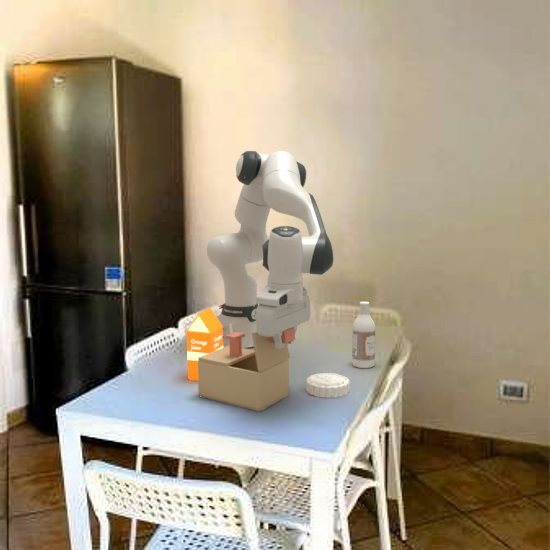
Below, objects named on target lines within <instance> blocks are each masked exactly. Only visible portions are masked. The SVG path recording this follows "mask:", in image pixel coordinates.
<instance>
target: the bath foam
mask: <svg viewBox="0 0 550 550" xmlns="http://www.w3.org/2000/svg"><path fill="white" fill-rule="evenodd" d="M351 341H352V346H351V347H352V348H351V349H352V351H351V353H352V354H351V356H352V359H351V364H352V366H353V367H355V368H359V369H370V368H372V367H374V366H375V362H376V324H375V322H374V320H373V318H372V317H371V315H370V302H369V301H359V314H358V315H357V317H356V318H355V320H354V322H353V325H352V340H351Z"/></svg>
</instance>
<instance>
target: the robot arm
mask: <svg viewBox="0 0 550 550" xmlns="http://www.w3.org/2000/svg"><path fill="white" fill-rule="evenodd" d="M235 166H236V167H235V173H236V174H235V175H236V178H237V180H238V182H239V183H241V184H243V185H242V188H241V190H240V194H239V197H238V199H237V200H238V201H237V203H236V207H235V209H234V218H235V219H236V221H237V222H238V223H239V224H240V227H239V230H238V232H235V233H234V232H233V233H225V234H221V235H218V236H214V237H213V238H212V239H210V240H209V241H208V243H207V247H206V255H207V258H208V260H209V261H210V263H211V264H212V265H214V266H215V267H216V268H217V269H218V271H219V272H220V274H221V276H222V281H223V285H224V303H223V304H222V305H218V307H219V308H218V309H219V310H221V312H220V314H219V315H218V316H217V315H216V317H217V319H218V320H219V322H220V323H221V325H222V326H223V348H224V347H227V346H229V345H230V339H226V336H227V335H229V334H232V333H235V332H238V333H244V334H245V337H242V348H246V349H249V348H252V347H254V343H253V338H252V333H253V332H256V331H257V333H258V334H259V335H260V336H265V337H271V336H273V339H274V341H275V347H276V348H278V349H280V348H283V347H284V343H283V341H282V339H281V336H282V332H283V331H285V330H287V329H290V328H294V334H295V335H296V332H297V330H298V326H299V325H302V324H304V323H306V322H308V321H309V320H310V319H311V301H310V296H309V295H308V290H307V288H305V286H304V279H303V276H302V275H303V274H311V275H318V276H319V275H320V276H322V275H324V274H325V273H326V272H328V271H329V270H330V269H331V268H332V267H333V266H334V261H335V260H334V258H335V253H334V248H333V245H332V243H331V239H330V238H329V236H328V234H327V232H326V228H325V225H324V222H323V219H322V215H321V212H320V210H319V207H318V204H317V201H316V198H315V197H314V196H313V194H311V193H310V192H308V191H306V189H304V186H305V185H306V181H307V170H306V167H305V165H303V164H302V163H300V162H298V161H296V158H295V157H294V155H293V154H291V153H290V152H288V151H286V150H277V151H274V152H271V154H270V153H263V152H257V151H256V150H246V151H244V152H243V153H241V154H240V157H239V158H238V159H237V162H236V165H235ZM271 209H272V210H273V211H275V212H277V213H279V214H282V215H287V216H291V217H294V218H297V219H300V220H301V221H303V222H304V224H305V225H306V229H307V232H308V234H309V236H302V233H301V229H299V228H297V227H295V226H289V225H287V226H286V225H281V226H276V227H273V228H272V229H271V230H270V232H269V235H268V234H267V229H266V228H267V222H268V218H269V214H270V211H271ZM260 261H262V264H261V265H262V266H263V267H264V269H266V270H267V271H268V276H267V285H265V286H264V288H263V289H262V290H261V291H259V292H258V291H257V289H258V288H257V287H258V286H257V282H256V280H255V278H253V277H252V276H250V275H249V274H248V272H247V268H246V265H247V264H252V263H253V264H254V263H258V262H260ZM257 292H258V293H257ZM294 342H295V339H294V340H292V341H290V342H288V343H287V344H288V345H291V344H293V343H294Z"/></svg>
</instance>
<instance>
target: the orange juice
mask: <svg viewBox="0 0 550 550" xmlns="http://www.w3.org/2000/svg"><path fill="white" fill-rule="evenodd" d="M221 348H223V326H222V325H221V323H220V322H219V320H218V319H217V315H216V314H215V312H214V311H213V310H212V307H208V308H207V309H204V310H203V311H201V312H199V313H197V314H196V316H195V318H194V320H193V321H192V322H191V324H190V325H189V327H188V328H187V330H186V350H187V351H186V352H187V354H186V357H187V377H188V378H187V379H189V380H190V381H197V382H198V358H199V357H201V356H204V355H206V354H209V353H211V352H214V351H216V350H219V349H221Z"/></svg>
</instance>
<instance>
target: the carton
mask: <svg viewBox="0 0 550 550" xmlns="http://www.w3.org/2000/svg"><path fill="white" fill-rule="evenodd" d="M197 382H198V383H197V384H198V388H197V389H198V397H199V396H201V397H200V398H203V397H204V398H203V399H207V398H208V399H207V400H211V399H212V400H211V401H215V400H216V402H219V403H224V404H227V405H231V406H236V407H238V408H239V407H240V408H243V409H247V410H250V411H255V412H258V413H259V412H262V411H264V410H265V409H267V408H269V407H270V406H272V405H274V404H276V403H277V402H280V401H281V400H283V399H284V398H287V397H288V396H290V359H289V358H288V359H286V360H284V361H281V362H279V363H277V364H275V365H273V366H271V367H269V368H267V369H265V370H263V371H258V367H257V361H256V355H253V356H251V357H248V358H246V359H244V360H242V361H239V362H237V363H235V364H232V365H230V366H228V367H227V366H222V365H217V364H213V363H208V362H203V361H199V360H198V381H197Z"/></svg>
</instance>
